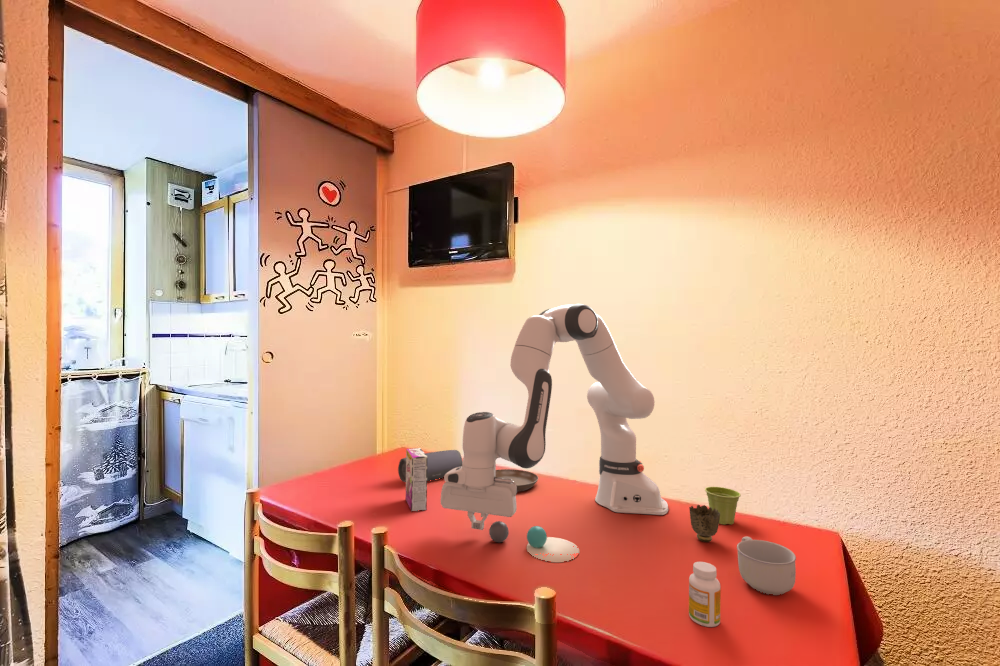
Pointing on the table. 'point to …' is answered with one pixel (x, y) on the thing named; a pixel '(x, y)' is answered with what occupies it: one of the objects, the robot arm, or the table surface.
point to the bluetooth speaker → (435, 464)
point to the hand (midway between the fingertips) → (477, 528)
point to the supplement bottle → (704, 595)
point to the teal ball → (536, 536)
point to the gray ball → (498, 531)
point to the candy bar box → (416, 479)
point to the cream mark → (554, 550)
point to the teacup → (766, 566)
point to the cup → (704, 522)
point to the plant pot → (723, 503)
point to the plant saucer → (518, 478)
